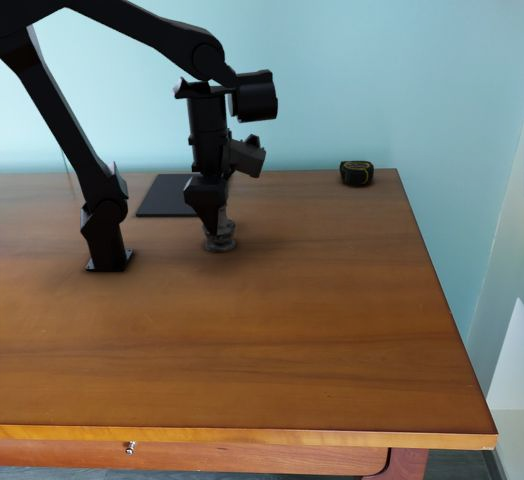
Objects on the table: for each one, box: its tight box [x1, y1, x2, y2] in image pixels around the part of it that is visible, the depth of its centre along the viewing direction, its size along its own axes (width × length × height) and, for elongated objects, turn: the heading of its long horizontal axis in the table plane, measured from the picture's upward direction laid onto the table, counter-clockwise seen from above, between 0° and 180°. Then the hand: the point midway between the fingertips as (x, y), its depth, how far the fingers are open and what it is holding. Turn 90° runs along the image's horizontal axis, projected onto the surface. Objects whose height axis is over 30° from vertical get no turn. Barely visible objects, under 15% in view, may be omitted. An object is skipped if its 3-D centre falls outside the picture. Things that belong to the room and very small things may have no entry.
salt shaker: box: [201, 202, 237, 253], centre depth 88 cm, size 6×6×12 cm
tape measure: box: [338, 160, 375, 185], centre depth 110 cm, size 7×7×4 cm
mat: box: [135, 173, 230, 218], centre depth 109 cm, size 20×16×1 cm
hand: (217, 221), depth 89 cm, fingers open, 9 cm apart
